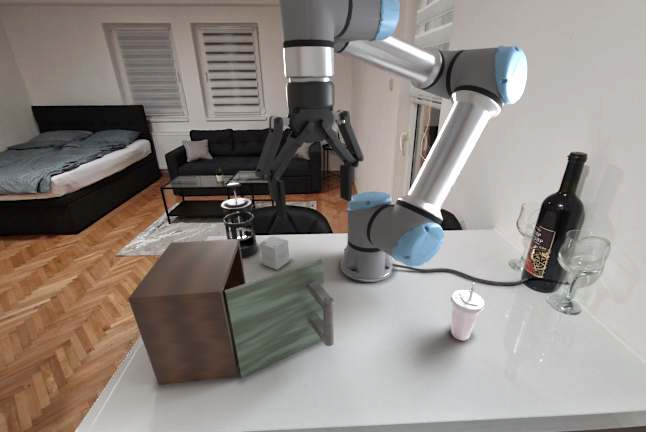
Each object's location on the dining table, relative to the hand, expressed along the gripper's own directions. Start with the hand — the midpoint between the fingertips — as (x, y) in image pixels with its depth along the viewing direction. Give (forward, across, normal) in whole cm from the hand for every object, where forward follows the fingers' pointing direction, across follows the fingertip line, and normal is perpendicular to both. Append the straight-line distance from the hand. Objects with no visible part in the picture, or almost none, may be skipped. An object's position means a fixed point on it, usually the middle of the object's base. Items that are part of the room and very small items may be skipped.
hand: (315, 207), depth 56 cm
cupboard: (+29, +22, -10) cm, 38 cm away
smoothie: (+30, -25, +18) cm, 43 cm away
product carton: (+30, -3, -31) cm, 43 cm away
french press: (+30, +3, -44) cm, 53 cm away
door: (+30, +10, +6) cm, 32 cm away
